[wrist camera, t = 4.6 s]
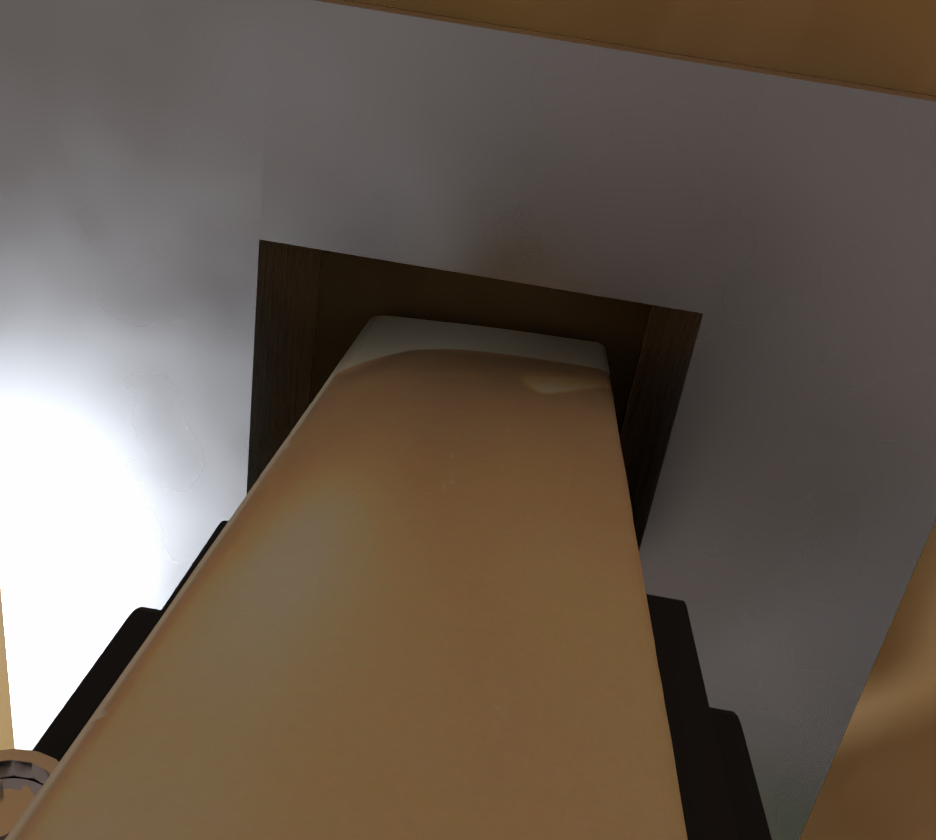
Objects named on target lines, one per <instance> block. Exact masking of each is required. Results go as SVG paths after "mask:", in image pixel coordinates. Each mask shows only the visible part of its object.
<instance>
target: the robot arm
mask: <svg viewBox="0 0 936 840" xmlns="http://www.w3.org/2000/svg"><path fill="white" fill-rule="evenodd" d="M227 523H228V521H225V520H224V521H222V522H221V523H220V524H219V525H218V526H217V528H216V529H215V531H214V532H213V534H212V535H211V537H210V538H209V540H208V541H207V543H206V544H205V546H204V547H203V549H202V550H201V552H200V553H199V555H198V556H197V558H196V559H195V561H194V562H193V564H192V565H191V567H190V568H189V570H188V571H187V573H186V574H185V576H184V577H183V579H182V580H181V582H180V583H179V585H178V586H177V587H176V589H175V590H174V592H173V593H172V595H171V596H170V598H169V599H168V601H167V602H166V604H165V605H164V607H163V608H162V610H158V609H153V608H147V607H139V608H137V609H135V610H134V611H133V612H132V613H131V614H130V615H129V616H128V618H127V619H126V621H125V622H124V623H123V625H122V626H121V628H120V629H119V630H118V632H117V633H116V635H115V636H114V637H113V639H112V640H111V641H110V643H109V644H108V646H107V647H106V648H105V650H104V651H103V653H102V654H101V655H100V657H99V658H98V659H97V661H96V662H95V664H94V665H93V666H92V668H91V669H90V671H89V672H88V673H87V675H86V676H85V678H84V679H83V680H82V682H81V683H80V684H79V686H78V687H77V689H76V690H75V691H74V693H73V694H72V696H71V697H70V698H69V700H68V701H67V703H66V704H65V705H64V707H63V708H62V709H61V711H60V712H59V714H58V715H57V716H56V718H55V719H54V721H53V722H52V723H51V725H50V726H49V728H48V729H47V730H46V732H45V733H44V734H43V736H42V737H41V739H40V740H39V741H38V743H37V744H36V746H35V747H34V748H33V750H32V751H31V750H22V749H9V750H0V840H5V838H6V837H7V836H8V834H9V833H10V831H11V830H12V829H13V827H14V826H15V824H16V823H17V821H18V820H19V819H20V817H21V816H22V814H23V813H24V812H25V810H26V809H27V807H28V806H29V804H30V803H31V802H32V800H33V799H34V797H35V796H36V795H37V793H38V792H39V790H40V789H41V787H42V786H43V785H44V783H45V782H46V780H47V779H48V778H49V776H50V775H51V773H52V772H53V770H54V769H55V768H56V766H57V765H58V763H59V762H60V761H61V759H62V758H63V756H64V755H65V753H66V752H67V751H68V749H69V748H70V746H71V745H72V744H73V742H74V741H75V739H76V738H77V736H78V735H79V734H80V732H81V731H82V729H83V728H84V727H85V725H86V724H87V722H88V721H89V719H90V718H91V717H92V715H93V714H94V712H95V711H96V710H97V708H98V707H99V705H100V704H101V702H102V701H103V700H104V698H105V697H106V695H107V694H108V693H109V691H110V690H111V688H112V687H113V685H114V684H115V683H116V681H117V680H118V678H119V677H120V675H121V674H122V673H123V671H124V670H125V668H126V667H127V666H128V664H129V663H130V661H131V660H132V658H133V657H134V656H135V654H136V653H137V651H138V650H139V649H140V647H141V646H142V644H143V643H144V641H145V640H146V639H147V637H148V636H149V634H150V633H151V632H152V630H153V629H154V627H155V626H156V624H157V623H158V621H159V620H160V619H161V617H162V616H163V614H164V613H165V611H166V610H167V608H168V607H169V606H170V604H171V603H172V601H173V600H174V598H175V597H176V595H177V594H178V593H179V591H180V590H181V588H182V587H183V585H184V584H185V582H186V581H187V580H188V578H189V577H190V575H191V574H192V572H193V571H194V569H195V568H196V567H197V565H198V564H199V562H200V561H201V560H202V558H203V557H204V555H205V554H206V552H207V551H208V550H209V548H210V547H211V545H212V544H213V542H214V541H215V540H216V538H217V537H218V535H219V534H220V532H221V531H222V530H223V528H224V527H225V525H226V524H227ZM646 596H647V602H648V608H649V613H650V619H651V625H652V631H653V637H654V642H655V649H656V656H657V663H658V668H659V673H660V678H661V682H662V689H663V696H664V702H665V708H666V713H667V718H668V724H669V729H670V735H671V740H672V746H673V752H674V759H675V765H676V772H677V778H678V785H679V791H680V797H681V803H682V809H683V815H684V821H685V827H686V833H687V839H688V840H772V838H771V834H770V830H769V827H768V823H767V819H766V815H765V812H764V808H763V804H762V800H761V797H760V793H759V789H758V785H757V782H756V778H755V774H754V770H753V767H752V763H751V759H750V755H749V752H748V748H747V744H746V740H745V736H744V733H743V729H742V725H741V723H740V720H739V718H738V715H736V714H735V713H734V712H733V711H728V710H723V709H717V708H711V707H709V703H708V698H707V694H706V690H705V685H704V681H703V676H702V672H701V668H700V663H699V659H698V654H697V650H696V645H695V641H694V637H693V632H692V628H691V623H690V619H689V614H688V610H687V606H686V603H685V602H684V601H683V600H678V599H672V598H666V597H660V596H655V595H649V594H646Z"/></svg>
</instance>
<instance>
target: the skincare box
mask: <svg viewBox="0 0 936 840" xmlns="http://www.w3.org/2000/svg"><path fill="white" fill-rule="evenodd" d="M5 840H688V839H687V833H686V827H685V821H684V815H683V809H682V803H681V797H680V791H679V785H678V778H677V772H676V765H675V759H674V752H673V746H672V740H671V735H670V729H669V724H668V718H667V713H666V708H665V702H664V696H663V689H662V682H661V678H660V673H659V668H658V663H657V656H656V649H655V642H654V637H653V631H652V625H651V619H650V613H649V608H648V602H647V596H646V590H645V584H644V579H643V573H642V567H641V561H640V555H639V550H638V545H637V539H636V534H635V528H634V522H633V514H632V507H631V501H630V495H629V489H628V483H627V477H626V471H625V466H624V461H623V455H622V450H621V444H620V438H619V432H618V426H617V420H616V411H615V405H614V399H613V393H612V388H611V382H610V373H609V366H608V361H607V355H606V350H605V348H604V346H603V345H602V344H600V343H597V342H592V341H584V340H577V339H570V338H563V337H557V336H550V335H543V334H537V333H530V332H521V331H514V330H508V329H500V328H492V327H483V326H476V325H468V324H459V323H450V322H441V321H432V320H423V319H414V318H406V317H395V316H376V317H373V318H371V319H370V320H369V321H368V322H367V323H366V325H365V326H364V328H363V329H362V331H361V332H360V334H359V335H358V336H357V338H356V339H355V341H354V342H353V344H352V345H351V347H350V348H349V350H348V351H347V352H346V354H345V355H344V357H343V358H342V359H341V361H340V362H339V364H338V365H337V366H336V368H335V369H334V371H333V372H332V374H331V375H330V377H329V378H328V380H327V381H326V383H325V384H324V386H323V387H322V389H321V390H320V391H319V393H318V394H317V396H316V397H315V399H314V400H313V401H312V403H311V404H310V405H309V407H308V408H307V410H306V411H305V412H304V414H303V415H302V417H301V418H300V420H299V421H298V422H297V424H296V425H295V427H294V428H293V430H292V431H291V433H290V434H289V436H288V437H287V438H286V440H285V441H284V442H283V444H282V445H281V447H280V448H279V449H278V451H277V452H276V454H275V455H274V457H273V458H272V459H271V461H270V462H269V464H268V465H267V467H266V468H265V469H264V471H263V472H262V474H261V475H260V477H259V478H258V480H257V481H256V482H255V484H254V485H253V487H252V488H251V490H250V491H249V493H248V494H247V495H246V497H245V498H244V500H243V501H242V503H241V504H240V505H239V507H238V508H237V510H236V511H235V513H234V514H233V515H232V517H231V518H230V520H229V521H228V523H227V524H226V525H225V527H224V528H223V530H222V531H221V532H220V534H219V535H218V537H217V538H216V540H215V541H214V542H213V544H212V545H211V547H210V548H209V550H208V551H207V552H206V554H205V555H204V557H203V558H202V560H201V561H200V562H199V564H198V565H197V567H196V568H195V569H194V571H193V572H192V574H191V575H190V577H189V578H188V580H187V581H186V582H185V584H184V585H183V587H182V588H181V590H180V591H179V593H178V594H177V595H176V597H175V598H174V600H173V601H172V603H171V604H170V606H169V607H168V608H167V610H166V611H165V613H164V614H163V616H162V617H161V619H160V620H159V621H158V623H157V624H156V626H155V627H154V629H153V630H152V632H151V633H150V634H149V636H148V637H147V639H146V640H145V641H144V643H143V644H142V646H141V647H140V649H139V650H138V651H137V653H136V654H135V656H134V657H133V658H132V660H131V661H130V663H129V664H128V666H127V667H126V668H125V670H124V671H123V673H122V674H121V675H120V677H119V678H118V680H117V681H116V683H115V684H114V685H113V687H112V688H111V690H110V691H109V693H108V694H107V695H106V697H105V698H104V700H103V701H102V702H101V704H100V705H99V707H98V708H97V710H96V711H95V712H94V714H93V715H92V717H91V718H90V719H89V721H88V722H87V724H86V725H85V727H84V728H83V729H82V731H81V732H80V734H79V735H78V736H77V738H76V739H75V741H74V742H73V744H72V745H71V746H70V748H69V749H68V751H67V752H66V753H65V755H64V756H63V758H62V759H61V761H60V762H59V763H58V765H57V766H56V768H55V769H54V770H53V772H52V773H51V775H50V776H49V778H48V779H47V780H46V782H45V783H44V785H43V786H42V787H41V789H40V790H39V792H38V793H37V795H36V796H35V797H34V799H33V800H32V802H31V803H30V804H29V806H28V807H27V809H26V810H25V812H24V813H23V814H22V816H21V817H20V819H19V820H18V821H17V823H16V824H15V826H14V827H13V829H12V830H11V831H10V833H9V834H8V836H7V837H6V838H5Z"/></svg>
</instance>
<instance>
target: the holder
mask: <svg viewBox="0 0 936 840" xmlns="http://www.w3.org/2000/svg"><path fill="white" fill-rule="evenodd" d="M321 250H326V251H332V252H338V253H344V254H350V255H356V256H362V257H368V258H374V259H380V260H386V261H392V262H398V263H404V264H410V265H416V266H422V267H428V268H434V269H440V270H446V271H452V272H458V273H464V274H470V275H476V276H482V277H488V278H494V279H500V280H506V281H512V282H518V283H524V284H530V285H536V286H542V287H548V288H554V289H560V290H566V291H572V292H578V293H584V294H590V295H596V296H602V297H608V298H614V299H620V300H626V301H632V302H638V303H644V304H650V305H652V307H651V311H650V315H649V319H648V323H647V327H646V331H645V335H644V340H643V344H642V348H641V352H640V356H639V360H638V364H637V368H636V372H635V376H634V381H633V385H632V389H631V393H630V397H629V401H628V405H627V409H626V413H625V417H624V422H623V426H622V430H621V434H620V444H621V450H622V455H623V461H624V466H625V471H626V477H627V483H628V489H629V495H630V501H631V507H632V514H633V522H634V528H635V534H636V539H637V545H638V550H639V555H640V561H641V567H642V573H643V579H644V584H645V590H646V594H649V595H655V596H660V597H666V598H672V599H678V600H683V601H684V602H685V603H686V606H687V610H688V614H689V619H690V623H691V628H692V632H693V637H694V641H695V645H696V650H697V654H698V659H699V663H700V668H701V672H702V676H703V681H704V685H705V690H706V694H707V698H708V703H709V707H711V708H717V709H723V710H728V711H733V712H734V713H735V714H736V715H738V718H739V720H740V723H741V725H742V729H743V733H744V736H745V740H746V744H747V748H748V752H749V755H750V759H751V763H752V767H753V770H754V774H755V778H756V782H757V785H758V789H759V793H760V797H761V800H762V804H763V808H764V812H765V815H766V819H767V823H768V827H769V830H770V834H771V838H772V840H799V838H800V836H801V834H802V831H803V829H804V827H805V824H806V822H807V819H808V817H809V815H810V812H811V810H812V808H813V805H814V803H815V801H816V798H817V796H818V794H819V791H820V789H821V787H822V784H823V782H824V780H825V777H826V775H827V773H828V770H829V768H830V766H831V763H832V761H833V759H834V756H835V754H836V752H837V749H838V747H839V745H840V742H841V740H842V738H843V735H844V733H845V731H846V728H847V726H848V724H849V721H850V719H851V717H852V714H853V712H854V710H855V707H856V705H857V703H858V700H859V698H860V696H861V693H862V691H863V689H864V686H865V684H866V682H867V679H868V677H869V674H870V672H871V670H872V667H873V665H874V663H875V660H876V658H877V656H878V653H879V651H880V649H881V646H882V644H883V642H884V639H885V637H886V635H887V632H888V630H889V628H890V625H891V623H892V621H893V618H894V616H895V614H896V611H897V609H898V607H899V604H900V602H901V600H902V597H903V595H904V593H905V590H906V588H907V586H908V583H909V581H910V579H911V576H912V574H913V572H914V569H915V567H916V565H917V562H918V560H919V558H920V555H921V553H922V551H923V548H924V546H925V544H926V541H927V539H928V537H929V534H930V532H931V529H932V527H933V525H934V522H935V520H936V97H935V96H929V95H923V94H916V93H910V92H904V91H898V90H892V89H886V88H880V87H874V86H867V85H861V84H855V83H849V82H843V81H837V80H831V79H825V78H818V77H812V76H806V75H800V74H794V73H788V72H782V71H775V70H769V69H763V68H757V67H751V66H745V65H739V64H733V63H726V62H720V61H714V60H708V59H702V58H696V57H690V56H683V55H677V54H671V53H665V52H659V51H653V50H647V49H641V48H634V47H628V46H622V45H616V44H610V43H604V42H598V41H592V40H585V39H579V38H573V37H567V36H561V35H555V34H549V33H542V32H536V31H530V30H524V29H518V28H512V27H506V26H500V25H493V24H487V23H481V22H475V21H469V20H463V19H457V18H450V17H444V16H438V15H432V14H426V13H420V12H414V11H408V10H401V9H395V8H389V7H383V6H377V5H371V4H365V3H359V2H352V1H346V0H0V584H1V595H2V607H3V618H4V630H5V641H6V653H7V664H8V676H9V687H10V699H11V710H12V722H13V733H14V745H15V749H22V750H31V751H32V750H33V748H34V747H35V746H36V744H37V743H38V741H39V740H40V739H41V737H42V736H43V734H44V733H45V732H46V730H47V729H48V728H49V726H50V725H51V723H52V722H53V721H54V719H55V718H56V716H57V715H58V714H59V712H60V711H61V709H62V708H63V707H64V705H65V704H66V703H67V701H68V700H69V698H70V697H71V696H72V694H73V693H74V691H75V690H76V689H77V687H78V686H79V684H80V683H81V682H82V680H83V679H84V678H85V676H86V675H87V673H88V672H89V671H90V669H91V668H92V666H93V665H94V664H95V662H96V661H97V659H98V658H99V657H100V655H101V654H102V653H103V651H104V650H105V648H106V647H107V646H108V644H109V643H110V641H111V640H112V639H113V637H114V636H115V635H116V633H117V632H118V630H119V629H120V628H121V626H122V625H123V623H124V622H125V621H126V619H127V618H128V616H129V615H130V614H131V613H132V612H133V611H134V610H135V609H137V608H139V607H147V608H153V609H158V610H162V608H163V607H164V605H165V604H166V602H167V601H168V599H169V598H170V596H171V595H172V593H173V592H174V590H175V589H176V587H177V586H178V585H179V583H180V582H181V580H182V579H183V577H184V576H185V574H186V573H187V571H188V570H189V568H190V567H191V565H192V564H193V562H194V561H195V559H196V558H197V556H198V555H199V553H200V552H201V550H202V549H203V547H204V546H205V544H206V543H207V541H208V540H209V538H210V537H211V535H212V534H213V532H214V531H215V529H216V528H217V526H218V525H219V524H220V523H221V522H222V521H224V520H225V521H229V520H230V518H231V517H232V515H233V514H234V513H235V511H236V510H237V508H238V507H239V505H240V504H241V503H242V501H243V500H244V498H245V497H246V495H247V494H248V493H249V491H250V490H251V488H252V487H253V485H254V484H255V482H256V481H257V480H258V478H259V477H260V475H261V474H262V472H263V471H264V469H265V468H266V467H267V465H268V464H269V462H270V461H271V459H272V458H273V457H274V455H275V454H276V452H277V451H278V449H279V448H280V447H281V445H282V444H283V442H284V441H285V440H286V438H287V437H288V436H289V434H290V433H291V431H292V430H293V428H294V427H295V425H296V424H297V422H298V421H299V420H300V418H301V417H302V415H303V414H304V412H305V411H306V410H307V408H308V407H309V400H310V387H311V375H312V362H313V350H314V337H315V325H316V312H317V300H318V287H319V275H320V262H321Z"/></svg>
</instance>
